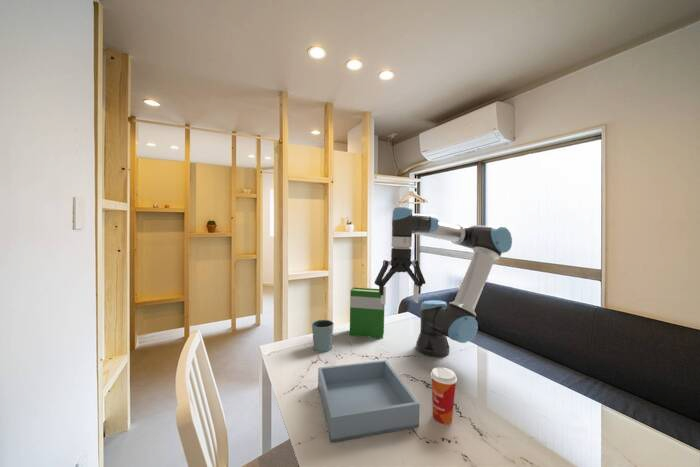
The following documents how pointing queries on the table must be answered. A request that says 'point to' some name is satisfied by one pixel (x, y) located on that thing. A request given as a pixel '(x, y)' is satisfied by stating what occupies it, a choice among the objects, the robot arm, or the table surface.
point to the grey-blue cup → (322, 335)
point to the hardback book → (366, 313)
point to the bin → (365, 401)
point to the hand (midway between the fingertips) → (399, 302)
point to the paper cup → (443, 394)
